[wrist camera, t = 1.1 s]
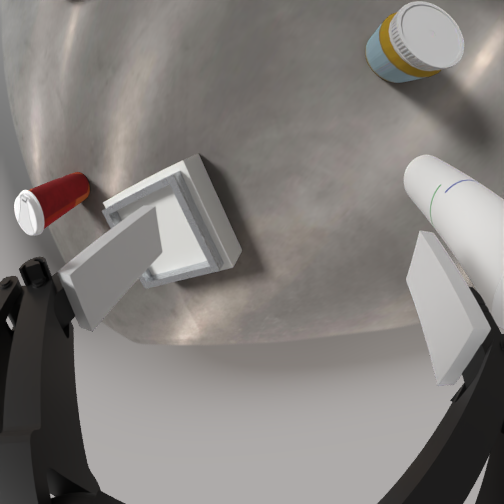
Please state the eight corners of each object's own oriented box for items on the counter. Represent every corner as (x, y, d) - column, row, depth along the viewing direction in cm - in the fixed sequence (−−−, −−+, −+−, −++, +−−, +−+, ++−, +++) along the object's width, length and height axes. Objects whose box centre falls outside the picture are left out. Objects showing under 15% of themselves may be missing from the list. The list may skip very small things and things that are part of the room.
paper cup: (68, 161, 44) (11, 186, 32) (96, 173, 44) (37, 202, 32) (65, 198, 48) (14, 228, 36) (92, 211, 48) (40, 246, 36)
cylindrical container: (456, 186, 32) (565, 291, 11) (420, 214, 35) (500, 345, 14) (432, 144, 30) (557, 217, 9) (393, 174, 34) (481, 284, 13)
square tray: (120, 192, 44) (94, 207, 38) (198, 153, 38) (175, 163, 32) (163, 271, 50) (144, 294, 44) (242, 250, 44) (229, 275, 39)
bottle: (395, 94, 29) (440, 90, 16) (353, 56, 28) (374, 26, 15) (425, 61, 25) (481, 44, 12) (384, 23, 24) (419, -17, 11)
